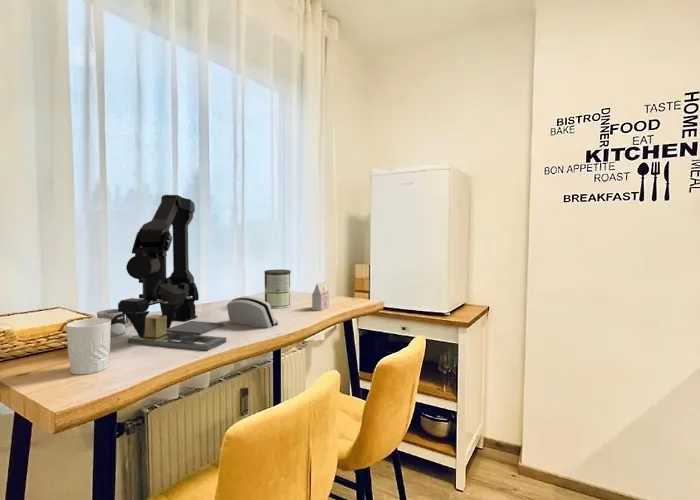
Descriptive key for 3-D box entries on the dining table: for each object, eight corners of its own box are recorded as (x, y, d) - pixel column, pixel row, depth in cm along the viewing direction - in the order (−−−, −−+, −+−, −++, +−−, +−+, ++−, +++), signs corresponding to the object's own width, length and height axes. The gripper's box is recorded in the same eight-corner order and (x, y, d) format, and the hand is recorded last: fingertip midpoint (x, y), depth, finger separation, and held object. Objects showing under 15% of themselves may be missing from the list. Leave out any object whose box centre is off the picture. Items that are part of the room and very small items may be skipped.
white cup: (81, 363, 86) (80, 318, 85) (119, 362, 86) (118, 318, 86) (57, 376, 78) (56, 327, 77) (99, 375, 78) (98, 326, 78)
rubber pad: (164, 331, 113) (164, 329, 113) (191, 322, 124) (191, 320, 124) (199, 335, 110) (199, 332, 110) (224, 325, 121) (224, 323, 121)
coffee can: (259, 305, 154) (259, 270, 153) (281, 302, 161) (281, 269, 160) (273, 309, 146) (273, 272, 146) (295, 306, 154) (296, 270, 153)
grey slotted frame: (127, 342, 101) (127, 338, 101) (151, 335, 109) (150, 330, 109) (207, 350, 95) (207, 346, 95) (226, 342, 103) (226, 337, 103)
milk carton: (312, 310, 147) (312, 283, 146) (320, 307, 153) (320, 281, 152) (320, 311, 145) (320, 284, 145) (328, 307, 151) (329, 282, 151)
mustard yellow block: (143, 341, 103) (143, 317, 102) (154, 337, 107) (154, 314, 106) (156, 343, 102) (155, 318, 101) (166, 339, 105) (166, 315, 105)
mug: (112, 338, 106) (111, 314, 105) (91, 337, 107) (91, 313, 107) (139, 329, 115) (138, 307, 115) (119, 328, 117) (119, 306, 116)
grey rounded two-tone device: (279, 324, 123) (272, 296, 119) (270, 333, 119) (263, 304, 116) (240, 318, 131) (232, 292, 127) (230, 326, 127) (222, 299, 123)
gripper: (153, 279, 92) (154, 344, 93) (202, 272, 110) (203, 326, 111) (115, 278, 95) (116, 341, 96) (169, 271, 113) (170, 324, 114)
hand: (155, 332), depth 104 cm, fingers open, 9 cm apart
